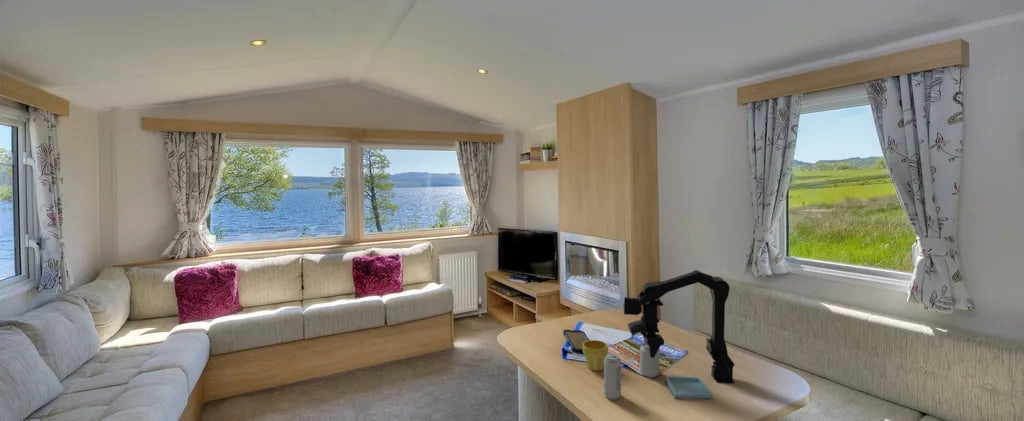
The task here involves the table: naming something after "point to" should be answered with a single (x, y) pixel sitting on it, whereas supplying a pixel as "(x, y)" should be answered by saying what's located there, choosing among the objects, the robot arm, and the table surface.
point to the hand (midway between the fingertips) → (649, 353)
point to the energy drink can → (612, 376)
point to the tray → (688, 388)
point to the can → (649, 362)
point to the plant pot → (595, 354)
